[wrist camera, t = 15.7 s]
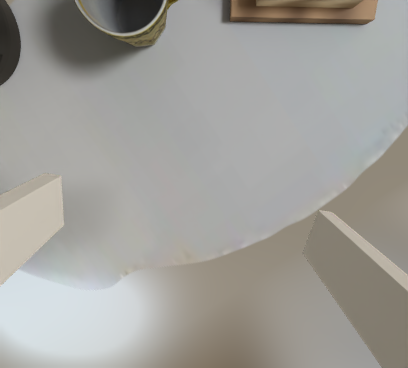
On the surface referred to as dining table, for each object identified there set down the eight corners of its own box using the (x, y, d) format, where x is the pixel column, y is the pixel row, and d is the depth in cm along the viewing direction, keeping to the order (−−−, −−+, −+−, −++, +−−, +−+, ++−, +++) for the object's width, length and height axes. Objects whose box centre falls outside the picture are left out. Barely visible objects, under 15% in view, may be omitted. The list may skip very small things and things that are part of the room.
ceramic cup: (113, 64, 34) (80, 41, 24) (97, -18, 31) (53, -81, 21) (201, 54, 34) (204, 27, 24) (193, -28, 31) (192, -96, 21)
